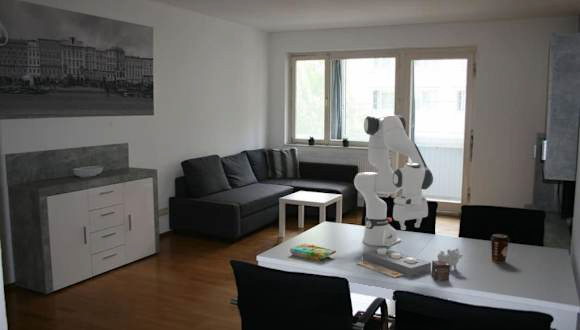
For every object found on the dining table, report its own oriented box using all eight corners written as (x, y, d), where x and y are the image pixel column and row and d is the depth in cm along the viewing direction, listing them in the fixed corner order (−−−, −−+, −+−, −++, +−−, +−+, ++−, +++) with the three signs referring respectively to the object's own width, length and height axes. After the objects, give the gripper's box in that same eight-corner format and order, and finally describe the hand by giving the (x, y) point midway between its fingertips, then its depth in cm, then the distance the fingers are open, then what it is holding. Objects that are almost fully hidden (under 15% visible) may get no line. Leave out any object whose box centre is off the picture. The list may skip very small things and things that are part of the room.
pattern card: (365, 261, 249) (365, 260, 249) (403, 275, 230) (404, 273, 230) (356, 264, 245) (356, 262, 245) (394, 278, 226) (395, 276, 226)
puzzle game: (303, 242, 267) (336, 248, 255) (303, 250, 268) (335, 257, 256) (289, 246, 258) (323, 254, 246) (289, 256, 258) (323, 263, 247)
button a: (381, 253, 254) (381, 247, 254) (388, 256, 250) (388, 250, 250) (375, 255, 251) (375, 249, 251) (381, 257, 248) (382, 251, 247)
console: (382, 255, 260) (382, 247, 260) (430, 270, 236) (431, 262, 236) (362, 260, 252) (362, 252, 251) (410, 276, 228) (411, 268, 228)
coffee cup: (507, 259, 255) (509, 234, 253) (508, 264, 247) (510, 238, 246) (488, 258, 258) (490, 232, 256) (489, 262, 250) (491, 236, 248)
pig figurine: (456, 273, 233) (457, 251, 232) (435, 266, 244) (436, 244, 242) (464, 272, 236) (465, 249, 234) (443, 264, 246) (444, 243, 245)
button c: (410, 263, 240) (410, 256, 239) (417, 265, 236) (417, 259, 236) (403, 264, 237) (404, 258, 237) (411, 267, 234) (411, 260, 233)
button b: (395, 258, 247) (395, 252, 246) (402, 260, 243) (402, 254, 243) (389, 259, 244) (389, 253, 244) (396, 262, 241) (396, 256, 240)
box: (431, 276, 229) (431, 260, 228) (444, 276, 230) (444, 260, 229) (436, 281, 223) (436, 264, 222) (449, 280, 224) (450, 264, 223)
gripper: (421, 195, 242) (419, 224, 243) (391, 199, 230) (389, 229, 231) (432, 197, 237) (430, 227, 238) (401, 201, 225) (400, 232, 226)
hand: (410, 228), depth 234 cm, fingers open, 8 cm apart
